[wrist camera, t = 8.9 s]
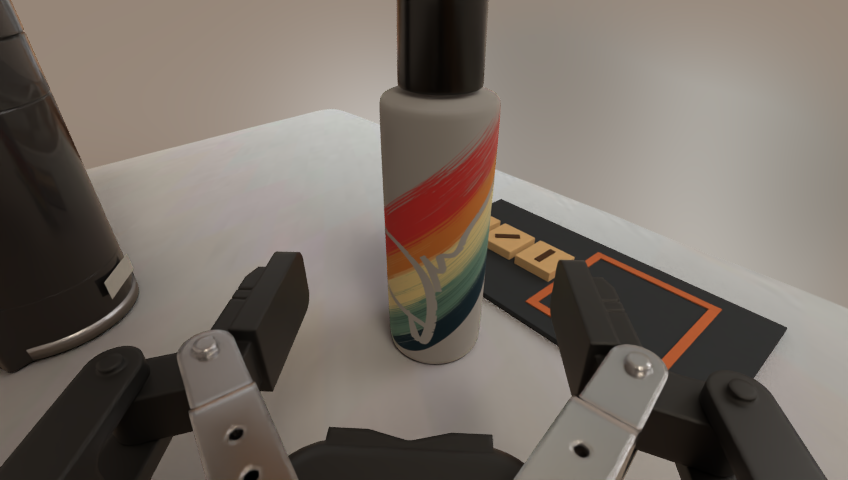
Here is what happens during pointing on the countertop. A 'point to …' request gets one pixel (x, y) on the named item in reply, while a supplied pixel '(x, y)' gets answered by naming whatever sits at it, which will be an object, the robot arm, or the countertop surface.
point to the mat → (623, 297)
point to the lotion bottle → (438, 177)
